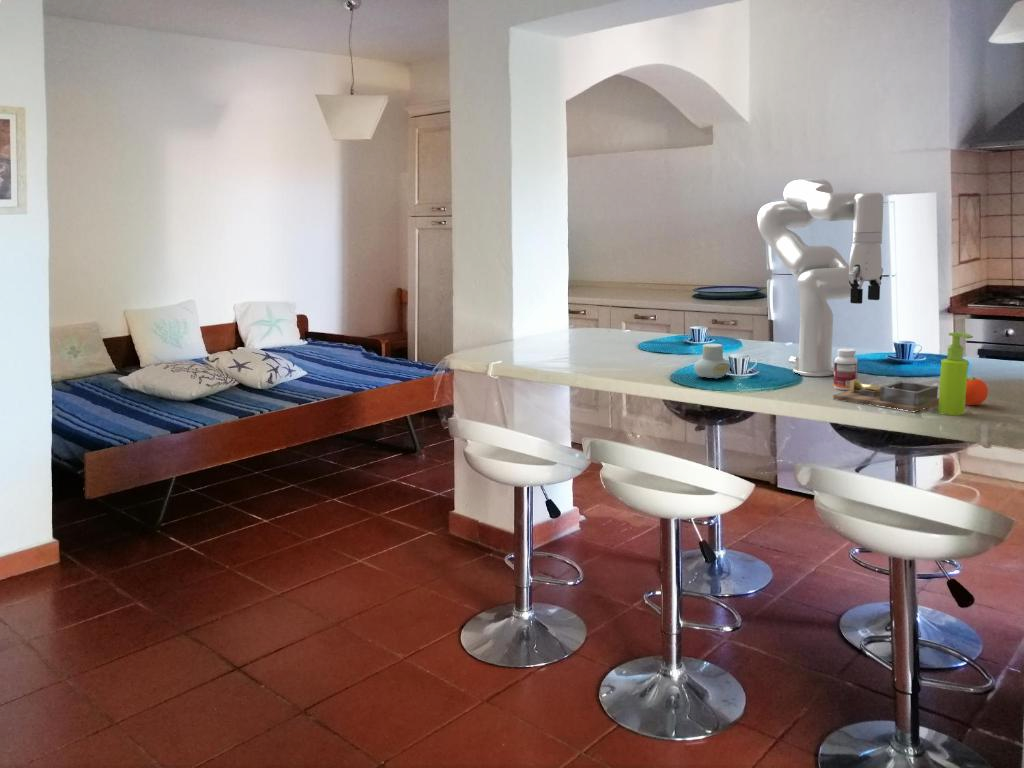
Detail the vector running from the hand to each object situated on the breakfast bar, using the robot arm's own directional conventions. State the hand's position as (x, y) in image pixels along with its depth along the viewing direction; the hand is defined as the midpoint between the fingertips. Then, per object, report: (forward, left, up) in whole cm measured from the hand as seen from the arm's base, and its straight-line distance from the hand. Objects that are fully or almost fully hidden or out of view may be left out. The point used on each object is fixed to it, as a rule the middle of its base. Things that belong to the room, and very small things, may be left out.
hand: (865, 301), depth 249 cm
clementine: (+30, -1, -24) cm, 39 cm away
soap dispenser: (+31, -12, -24) cm, 42 cm away
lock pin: (+8, -11, -23) cm, 27 cm away
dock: (+13, -11, -24) cm, 30 cm away
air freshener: (-40, -16, -25) cm, 49 cm away
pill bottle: (-3, -4, -24) cm, 25 cm away
